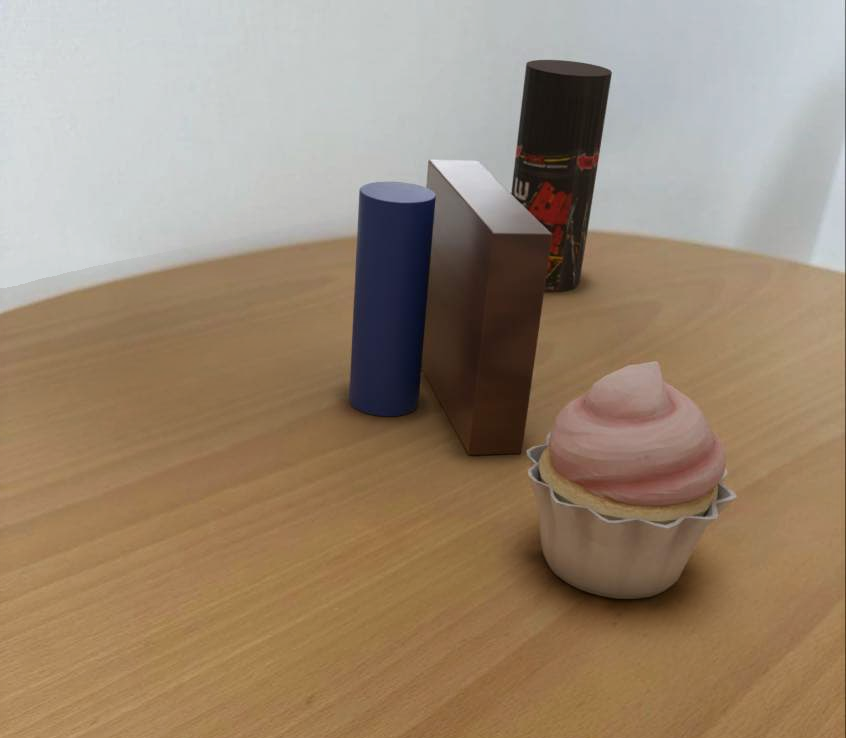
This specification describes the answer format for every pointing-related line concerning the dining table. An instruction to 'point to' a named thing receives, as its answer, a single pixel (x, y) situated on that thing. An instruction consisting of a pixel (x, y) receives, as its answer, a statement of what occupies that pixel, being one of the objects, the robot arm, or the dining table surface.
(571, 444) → the cupcake
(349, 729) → the dining table surface
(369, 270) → the tube
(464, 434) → the block
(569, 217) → the deodorant
